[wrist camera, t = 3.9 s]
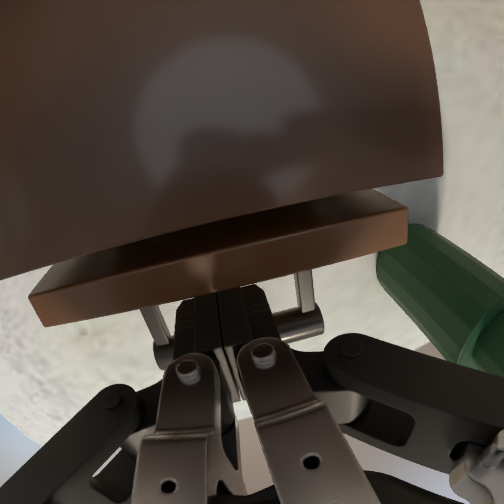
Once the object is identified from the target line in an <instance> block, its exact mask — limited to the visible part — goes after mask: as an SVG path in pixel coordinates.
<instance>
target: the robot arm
mask: <svg viewBox="0 0 504 504" xmlns="http://www.w3.org/2000/svg"><path fill="white" fill-rule="evenodd" d="M175 321H176V322H175V332H174V346H173V361H172V362H171V363H170V364H169V365H168V366H167V368H166V369H165V371H164V375H163V379H162V380H160V381H159V382H158V383H156V384H154V385H152V386H150V387H147V388H145V389H142V390H140V391H138V392H135V391H134V389H133V388H131V387H130V386H128V385H125V384H115V385H111V386H108V387H106V388H104V389H103V390H101V391H100V392H99V393H98V394H97V395H96V396H95V397H94V398H93V399H92V400H91V401H89V402H88V403H87V404H86V405H85V406H84V407H83V408H82V409H81V410H80V411H79V412H78V413H77V414H76V415H75V416H74V417H73V418H72V419H71V420H70V421H69V422H68V423H67V424H66V425H64V426H63V427H62V428H61V429H60V430H59V431H58V432H57V433H56V434H55V435H54V436H53V437H52V438H51V439H50V440H49V441H48V442H47V443H46V444H45V445H44V446H43V447H42V448H41V449H40V450H38V451H37V453H35V454H34V456H32V457H31V458H30V459H29V460H28V461H27V462H26V463H25V464H24V465H23V466H22V467H21V468H20V469H19V470H18V471H17V472H16V473H15V474H14V475H13V476H12V477H11V478H10V479H9V480H8V481H6V482H5V483H4V484H3V485H2V486H1V487H0V504H464V503H461V502H458V501H455V500H452V499H449V498H446V497H443V496H441V495H438V494H435V493H433V492H430V491H427V490H425V489H422V488H420V487H417V486H415V485H412V484H410V483H408V482H405V481H403V480H400V479H398V478H396V477H393V476H391V475H387V474H384V473H380V472H374V471H365V470H362V468H361V466H360V464H359V462H358V460H357V459H356V457H355V455H354V453H353V451H352V450H351V448H350V446H349V444H348V442H347V440H346V439H345V437H344V435H343V433H345V434H347V435H349V436H351V437H354V438H356V439H358V440H360V441H362V442H365V443H367V444H369V445H372V446H374V447H376V448H379V449H381V450H383V451H386V452H388V453H391V454H393V455H396V456H398V457H401V458H404V459H406V460H409V461H412V462H414V463H417V464H420V465H423V466H426V467H428V468H431V469H434V470H437V471H440V472H443V473H447V474H449V482H450V486H451V488H452V490H453V492H454V493H455V494H457V495H458V496H460V497H462V498H464V499H466V500H467V501H469V503H470V504H504V377H502V376H498V375H495V374H491V373H487V372H484V371H480V370H477V369H473V368H470V367H466V366H463V365H459V364H456V363H452V362H449V361H445V360H442V359H439V358H436V357H432V356H429V355H426V354H422V353H419V352H416V351H413V350H410V349H406V348H403V347H400V346H397V345H394V344H391V343H388V342H385V341H382V340H378V339H375V338H372V337H369V336H366V335H363V334H358V333H347V334H342V335H339V336H337V337H335V338H333V339H332V340H330V341H329V342H328V343H327V345H326V346H325V348H324V351H321V352H302V351H297V350H294V349H291V348H290V347H289V345H288V344H287V343H286V342H285V341H283V340H282V339H281V337H280V334H279V332H278V329H277V326H276V323H275V321H274V318H273V315H272V312H271V309H270V307H269V304H268V302H267V298H266V296H265V293H264V290H262V289H261V288H260V287H258V286H257V285H256V284H253V285H249V286H244V287H237V288H232V289H228V290H224V291H219V292H215V293H211V294H206V295H202V296H197V297H194V298H192V299H188V300H183V301H182V303H181V304H180V306H179V307H178V309H177V310H176V320H175ZM239 391H240V394H241V397H242V399H243V400H247V403H248V406H249V409H250V411H251V414H252V416H253V419H254V422H255V423H254V424H255V427H256V430H257V434H258V437H259V440H260V443H261V446H262V449H263V453H264V456H265V459H266V462H267V465H268V468H269V471H270V474H271V477H272V480H273V482H274V485H272V486H270V487H267V488H265V489H263V490H261V491H258V492H256V493H253V494H251V495H247V492H246V488H245V484H244V481H243V476H242V467H241V454H240V439H239V425H238V420H237V418H236V416H235V413H234V409H233V402H238V401H241V400H240V394H239ZM119 447H121V448H122V450H121V451H120V452H119V453H118V454H117V455H116V456H115V457H114V458H113V459H112V460H111V461H110V462H109V463H108V464H107V466H106V467H105V468H104V469H103V470H102V471H101V472H100V473H99V474H98V475H96V476H95V477H92V476H93V474H94V473H95V472H96V471H97V470H98V469H99V468H100V467H101V466H102V465H103V464H104V462H106V461H107V460H108V459H109V457H110V456H111V455H112V454H113V453H114V452H115V451H116V450H117V449H118V448H119Z"/></svg>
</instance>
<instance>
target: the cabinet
mask: <svg viewBox="0 0 504 504" xmlns="http://www.w3.org/2000/svg"><path fill="white" fill-rule="evenodd" d="M441 176H443V140H442V125H441V113H440V103H439V94H438V87H437V80H436V73H435V67H434V61H433V55H432V50H431V45H430V40H429V36H428V31H427V27H426V23H425V19H424V15H423V11H422V7H421V4H420V0H0V280H3V279H6V278H10V277H13V276H16V275H19V274H22V273H26V272H29V271H32V270H36V269H39V268H42V267H46V266H49V265H52V264H56V263H59V262H63V261H66V260H70V259H73V258H77V257H80V256H84V255H87V254H91V253H95V252H98V251H102V250H106V249H109V248H113V247H117V246H120V245H124V244H128V243H132V242H135V241H139V240H143V239H147V238H151V237H155V236H159V235H163V234H167V233H171V232H175V231H179V230H183V229H187V228H191V227H195V226H199V225H203V224H208V223H212V222H216V221H220V220H224V219H229V218H233V217H237V216H242V215H246V214H251V213H255V212H260V211H264V210H269V209H273V208H278V207H283V206H287V205H292V204H297V203H301V202H306V201H311V200H316V199H321V198H326V197H331V196H336V195H341V194H346V193H351V192H356V191H362V190H367V189H372V188H378V187H383V186H389V185H394V184H400V183H406V182H411V181H417V180H423V179H429V178H435V177H441Z"/></svg>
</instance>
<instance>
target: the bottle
mask: <svg viewBox="0 0 504 504" xmlns="http://www.w3.org/2000/svg"><path fill="white" fill-rule="evenodd" d="M377 277H378V280H379V282H380V284H381V286H382V287H383V288H384V290H385V291H386V292H387V293H388V294H389V295H390V296H391V297H392V298H393V300H394V301H395V302H396V303H397V304H398V305H399V306H400V307H401V308H402V309H403V311H404V312H405V313H406V314H407V315H408V316H409V317H410V318H411V320H412V321H413V322H414V323H415V324H416V325H417V326H418V327H419V329H420V330H421V331H422V332H423V333H424V334H425V336H426V337H427V338H428V339H429V340H430V341H431V343H432V344H433V345H434V346H435V347H436V348H437V349H438V351H439V352H440V353H441V354H442V355H443V357H444V358H445V359H446V360H447V361H449V362H452V363H456V364H459V365H463V366H466V367H470V368H473V369H477V370H481V371H484V372H487V373H491V374H495V375H498V376H502V377H504V278H502V277H501V276H500V275H498V274H497V273H496V272H494V271H493V270H492V269H490V268H489V267H487V266H486V265H485V264H483V263H482V262H480V261H479V260H477V259H476V258H474V257H473V256H472V255H470V254H469V253H467V252H466V251H464V250H463V249H461V248H460V247H458V246H457V245H455V244H454V243H452V242H450V241H449V240H447V239H446V238H444V237H443V236H441V235H440V234H438V233H436V232H435V231H433V230H432V229H430V228H427V227H425V226H423V225H420V224H411V225H408V237H407V243H406V244H404V245H401V246H397V247H393V248H390V249H386V250H383V251H381V252H380V254H379V257H378V261H377Z"/></svg>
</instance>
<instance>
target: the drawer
mask: <svg viewBox="0 0 504 504" xmlns="http://www.w3.org/2000/svg"><path fill="white" fill-rule="evenodd" d="M407 237H408V208H407V207H406V206H404V205H403V204H401V203H399V202H397V201H395V200H393V199H391V198H389V197H387V196H386V195H384V194H382V193H380V192H378V191H376V190H374V189H367V190H362V191H356V192H351V193H346V194H341V195H336V196H331V197H326V198H321V199H316V200H311V201H306V202H301V203H297V204H292V205H287V206H283V207H278V208H273V209H269V210H264V211H260V212H255V213H251V214H246V215H242V216H237V217H233V218H229V219H224V220H220V221H216V222H212V223H208V224H203V225H199V226H195V227H191V228H187V229H183V230H179V231H175V232H171V233H167V234H163V235H159V236H155V237H151V238H147V239H143V240H139V241H135V242H132V243H128V244H124V245H120V246H117V247H113V248H109V249H106V250H102V251H98V252H95V253H91V254H87V255H84V256H80V257H77V258H73V259H70V260H66V261H63V262H59V263H56V264H53V266H52V267H51V268H50V269H49V270H48V272H47V273H46V274H45V275H44V276H43V278H42V279H41V280H40V281H39V283H38V284H37V285H36V287H35V288H34V289H33V290H32V292H31V293H30V294H29V296H28V299H29V301H30V303H31V304H32V306H33V308H34V310H35V312H36V314H37V315H38V317H39V319H40V321H41V322H42V324H43V326H44V327H50V326H56V325H61V324H66V323H72V322H77V321H82V320H87V319H93V318H98V317H103V316H108V315H113V314H118V313H123V312H128V311H132V310H137V309H140V311H141V313H142V315H143V318H144V320H145V322H146V324H147V326H148V328H149V330H150V333H151V335H152V337H153V339H154V342H153V351H154V357H155V360H156V363H157V365H158V367H159V368H160V369H161V370H165V369H166V368H167V366H168V365H169V364H170V363H171V362H172V361H173V346H174V335H173V336H171V335H170V332H169V330H168V328H167V325H166V323H165V321H164V318H163V316H162V314H161V311H160V309H159V306H158V305H161V304H165V303H170V302H175V301H179V300H184V299H188V298H193V297H197V296H202V295H206V294H211V293H215V292H219V291H224V290H228V289H232V288H237V287H241V286H245V285H249V284H253V283H258V282H262V281H266V280H270V279H274V278H278V277H282V276H286V275H290V274H294V279H295V286H296V294H297V302H298V307H295V308H291V309H287V310H283V311H279V312H275V313H272V315H273V318H274V321H275V323H276V326H277V329H278V332H279V334H280V337H281V339H282V340H283V341H285V342H286V343H287V344H288V343H292V342H296V341H299V340H303V339H307V338H310V337H314V336H317V335H321V334H323V333H324V322H323V317H322V314H321V311H320V308H319V306H318V305H317V303H315V300H314V289H313V279H312V269H314V268H318V267H322V266H326V265H330V264H334V263H338V262H341V261H345V260H349V259H353V258H357V257H360V256H364V255H368V254H372V253H375V252H379V251H383V250H386V249H390V248H393V247H397V246H401V245H404V244H406V243H407Z"/></svg>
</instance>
